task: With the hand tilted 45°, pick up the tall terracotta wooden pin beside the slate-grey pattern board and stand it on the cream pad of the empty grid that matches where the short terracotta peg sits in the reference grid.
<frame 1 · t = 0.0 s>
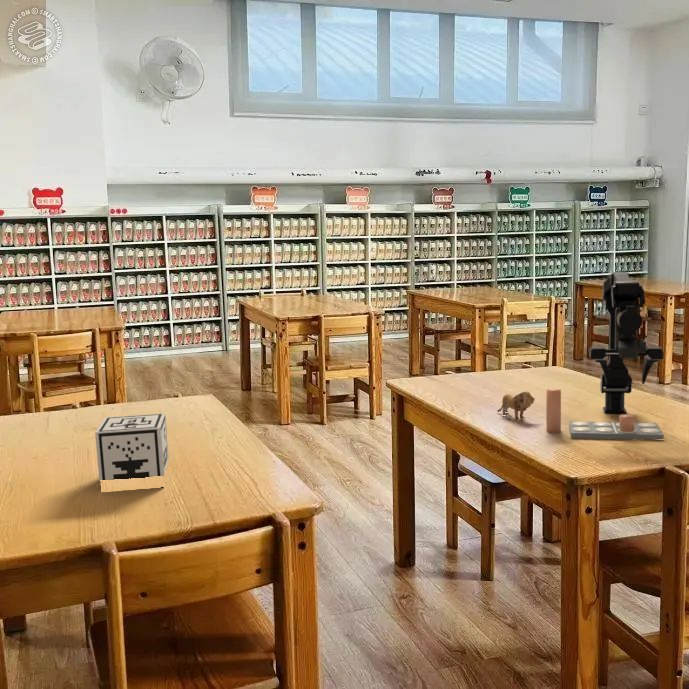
hand: (625, 383, 216), 15 cm above the table, tool pointing down, fingers open, 9 cm apart
lion figurine: (515, 418, 243), on the table
terracotta pin: (553, 430, 226), on the table
pattern board: (614, 432, 221), on the table
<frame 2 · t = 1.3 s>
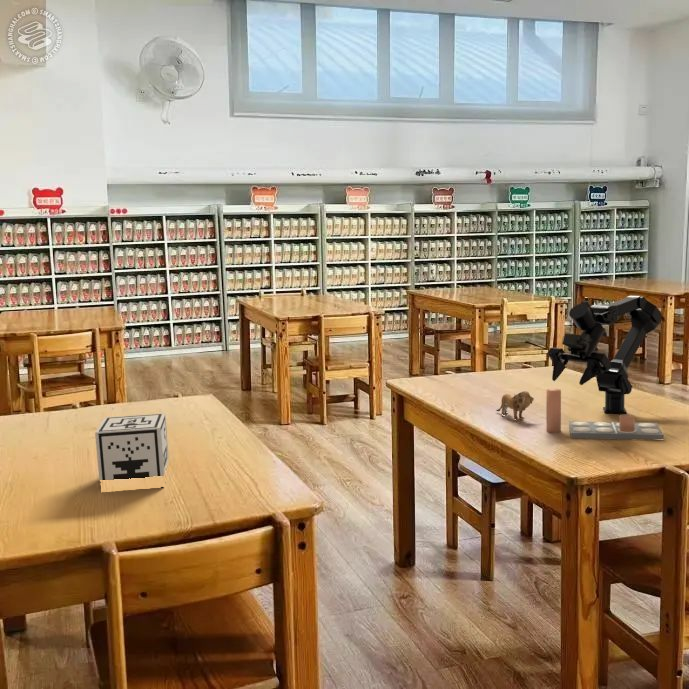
hand: (566, 382, 228), 13 cm above the table, tool tilted 45°, fingers open, 9 cm apart
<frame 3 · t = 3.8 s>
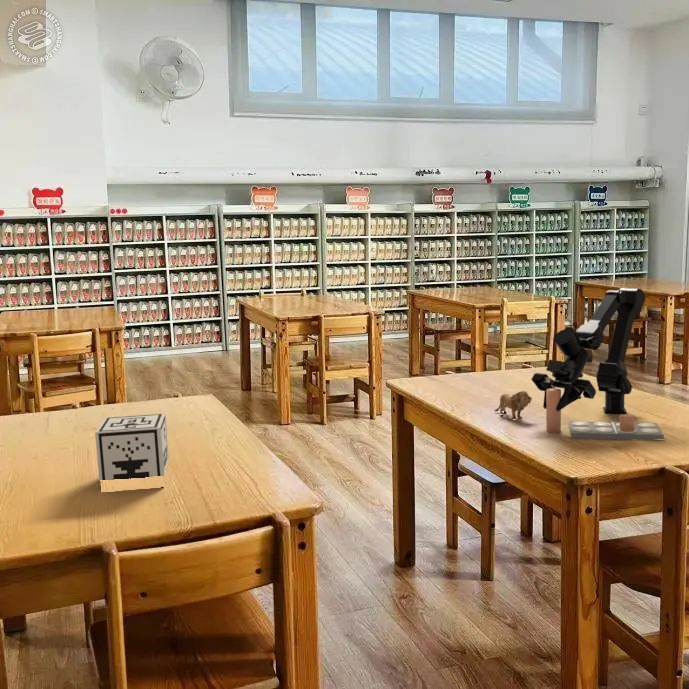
hand: (550, 409, 224), 7 cm above the table, tool tilted 45°, fingers closed on terracotta pin, 4 cm apart
terracotta pin: (553, 430, 226), on the table, touching gripper
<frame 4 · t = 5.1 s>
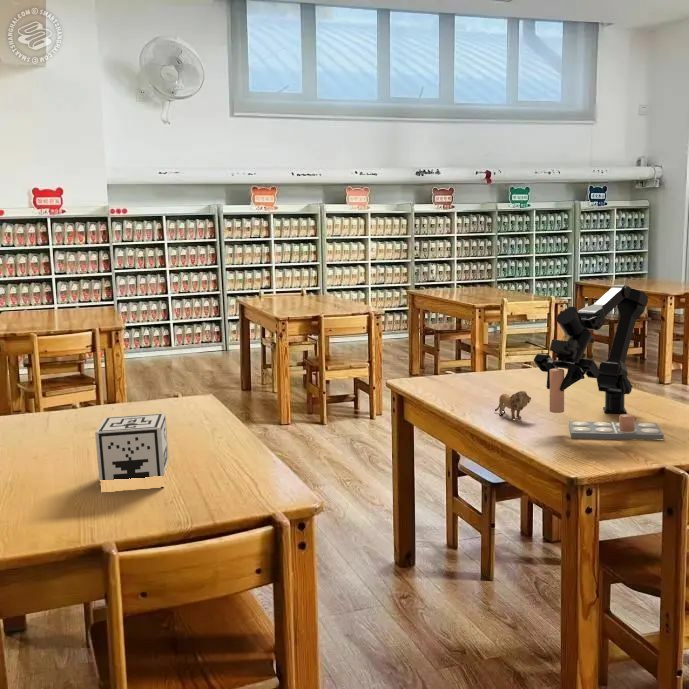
hand: (554, 389, 222), 13 cm above the table, tool tilted 45°, fingers closed on terracotta pin, 4 cm apart
terracotta pin: (556, 411, 224), point 6 cm above the table, touching gripper
when the fingers open (9 cm above the table, at t = 6.8 s): terracotta pin stays where it is, resting on pattern board.
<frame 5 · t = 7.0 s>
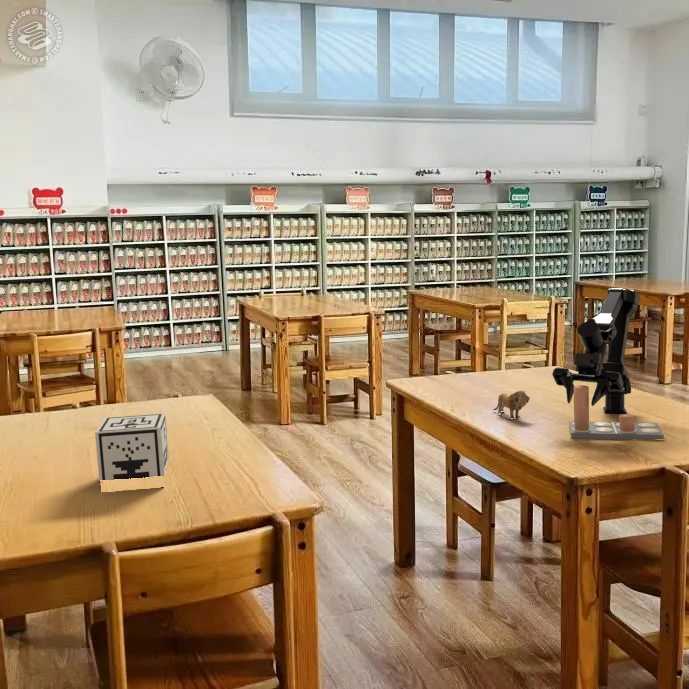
hand: (580, 403, 218), 9 cm above the table, tool tilted 45°, fingers open, 6 cm apart
terracotta pin: (581, 428, 220), point 2 cm above the table, touching pattern board
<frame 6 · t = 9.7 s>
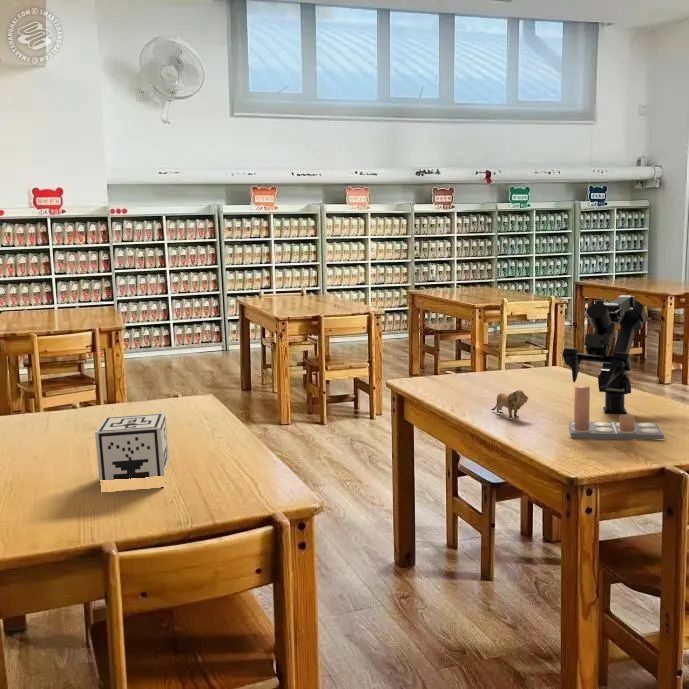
hand: (589, 383, 223), 13 cm above the table, tool tilted 45°, fingers open, 9 cm apart
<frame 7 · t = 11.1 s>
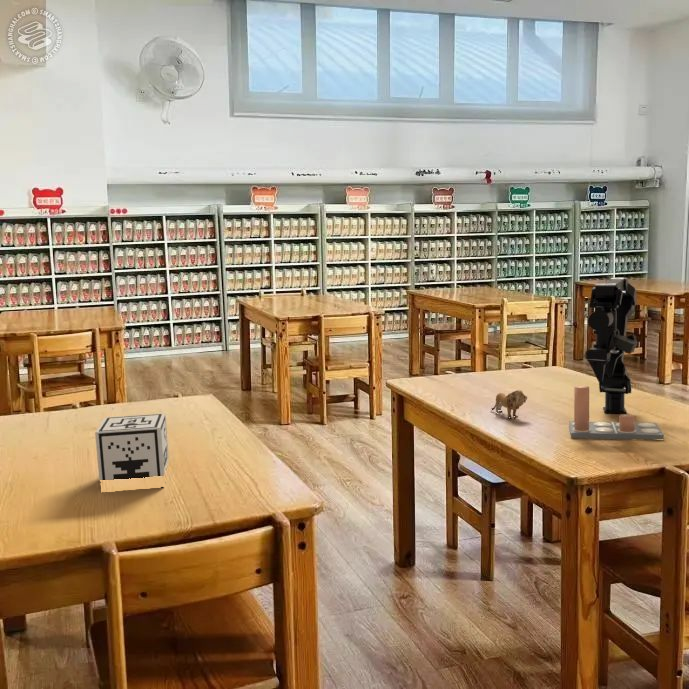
hand: (605, 379, 231), 13 cm above the table, tool pointing down, fingers open, 9 cm apart
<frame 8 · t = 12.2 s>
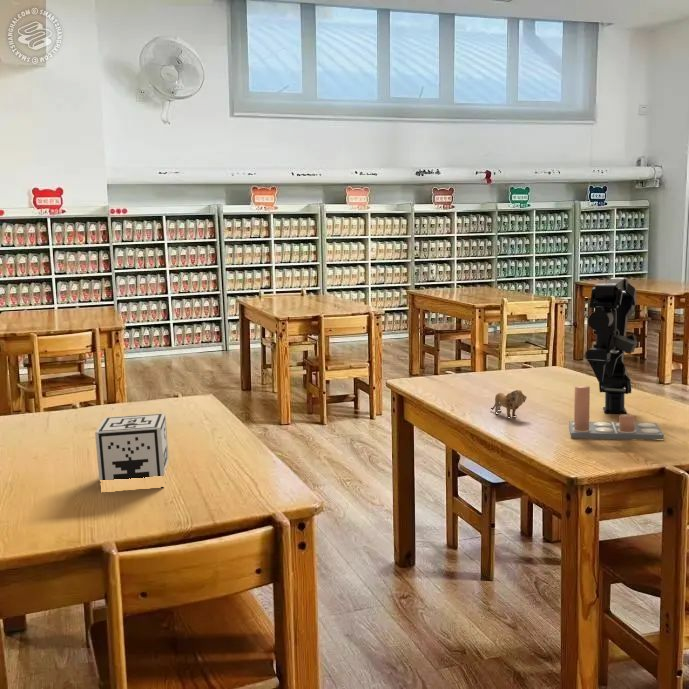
hand: (605, 379, 231), 13 cm above the table, tool pointing down, fingers open, 9 cm apart
at the end: terracotta pin 0.0 cm from the target spot on the pattern board, point 1.7 cm above the pattern board's base; terracotta pin tilted 0°; the gripper is holding nothing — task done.
